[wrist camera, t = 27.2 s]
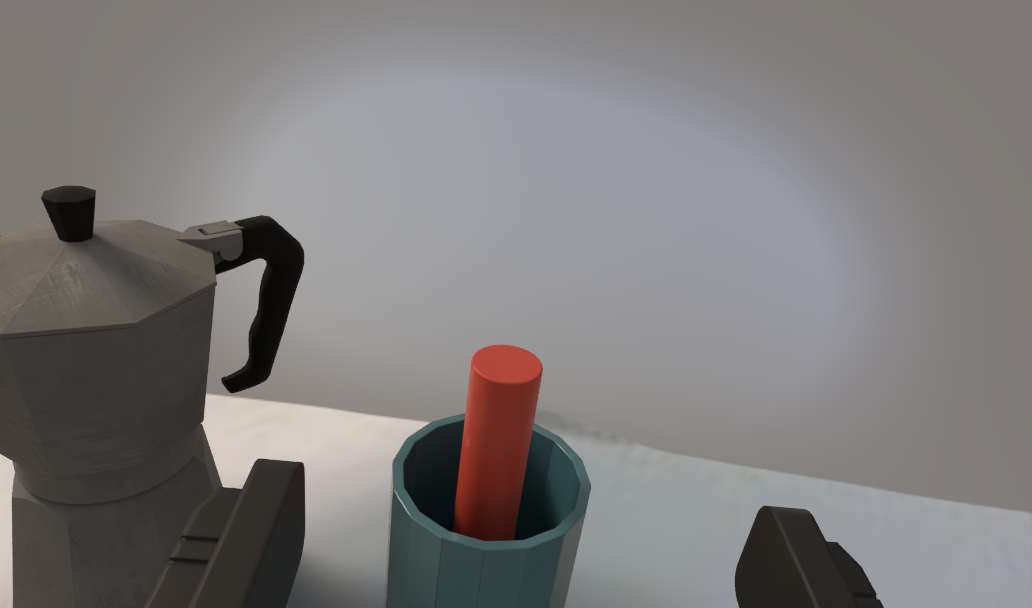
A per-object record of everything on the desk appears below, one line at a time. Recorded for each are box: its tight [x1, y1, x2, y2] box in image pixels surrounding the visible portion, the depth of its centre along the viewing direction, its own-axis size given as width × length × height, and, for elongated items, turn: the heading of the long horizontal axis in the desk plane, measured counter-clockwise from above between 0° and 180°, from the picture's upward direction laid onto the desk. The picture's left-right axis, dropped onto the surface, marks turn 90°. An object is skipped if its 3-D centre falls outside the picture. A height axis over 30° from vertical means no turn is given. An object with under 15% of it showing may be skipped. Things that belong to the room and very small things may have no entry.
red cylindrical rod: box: [452, 345, 543, 541], centre depth 27 cm, size 2×2×14 cm
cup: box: [384, 413, 591, 608], centre depth 28 cm, size 7×7×10 cm
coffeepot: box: [0, 186, 304, 608], centre depth 29 cm, size 15×9×18 cm, turn 136°
